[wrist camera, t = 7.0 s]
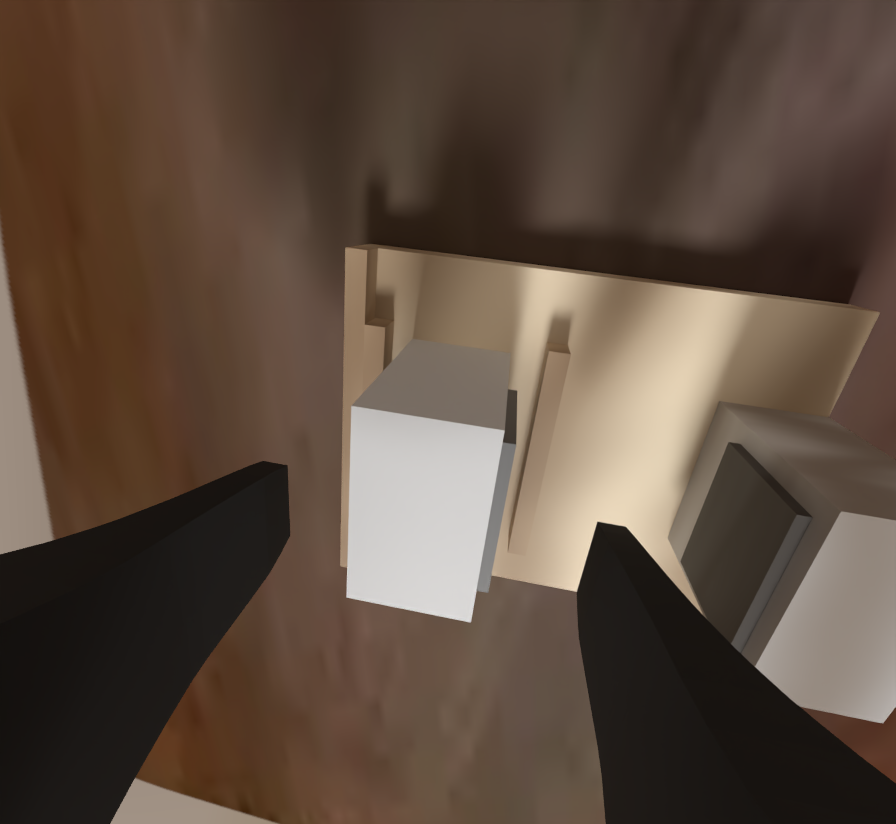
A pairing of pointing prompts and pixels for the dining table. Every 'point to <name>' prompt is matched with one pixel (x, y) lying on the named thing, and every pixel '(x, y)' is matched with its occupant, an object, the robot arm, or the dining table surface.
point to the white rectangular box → (430, 478)
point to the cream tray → (671, 448)
